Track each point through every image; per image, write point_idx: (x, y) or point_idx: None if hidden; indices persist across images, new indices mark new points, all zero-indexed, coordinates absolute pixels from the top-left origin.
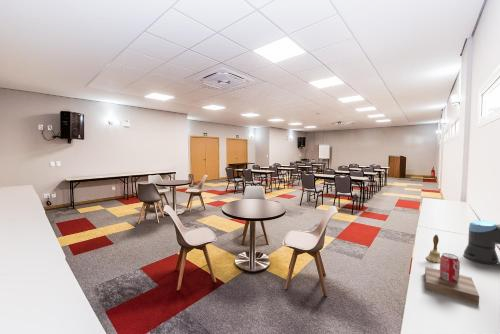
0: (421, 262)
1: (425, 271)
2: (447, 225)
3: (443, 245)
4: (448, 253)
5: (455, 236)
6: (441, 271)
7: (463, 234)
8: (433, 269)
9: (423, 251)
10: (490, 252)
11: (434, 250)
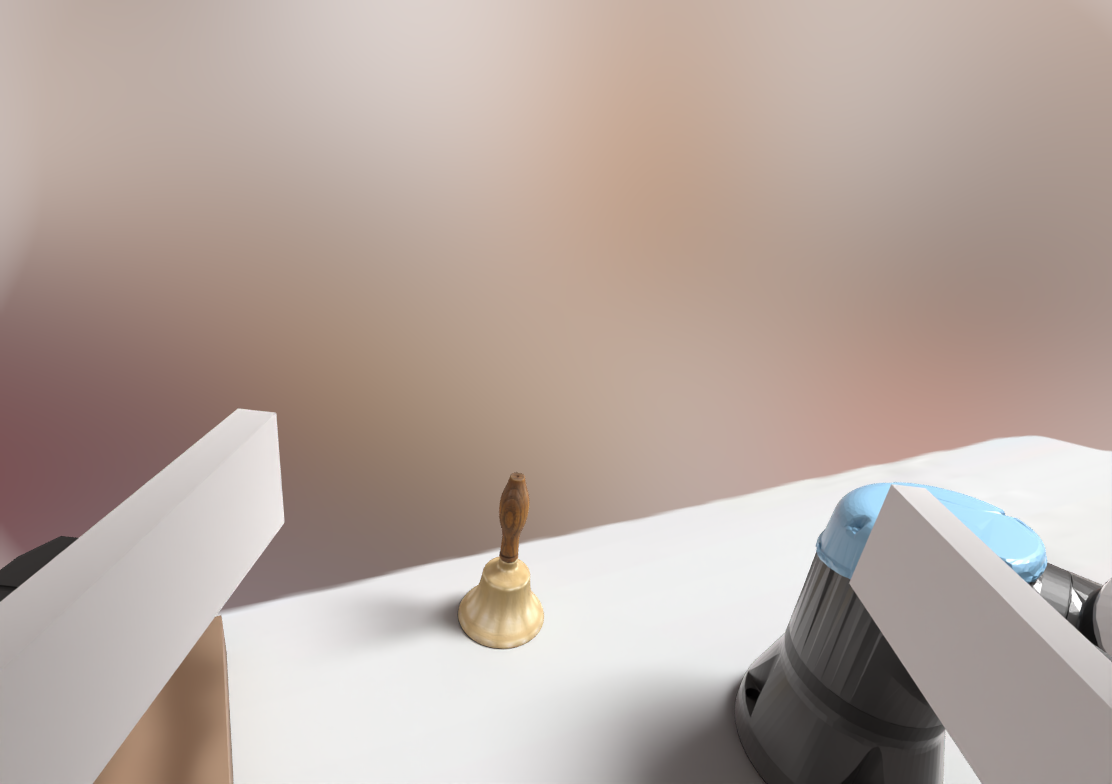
0: (395, 593)
1: None
2: (1060, 506)
3: (774, 573)
4: None
5: None
6: None
7: None
8: (199, 652)
9: (571, 554)
10: (849, 747)
11: (498, 563)
